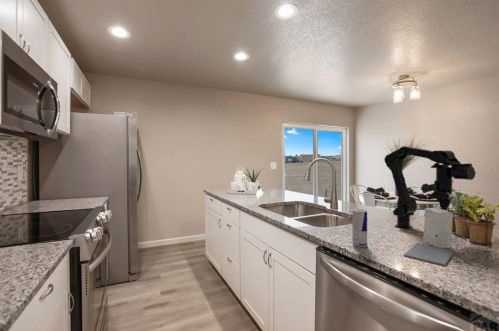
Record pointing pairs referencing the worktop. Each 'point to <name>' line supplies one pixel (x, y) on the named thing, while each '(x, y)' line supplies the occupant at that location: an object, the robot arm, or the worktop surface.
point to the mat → (430, 254)
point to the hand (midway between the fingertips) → (443, 212)
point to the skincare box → (438, 227)
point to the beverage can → (359, 227)
